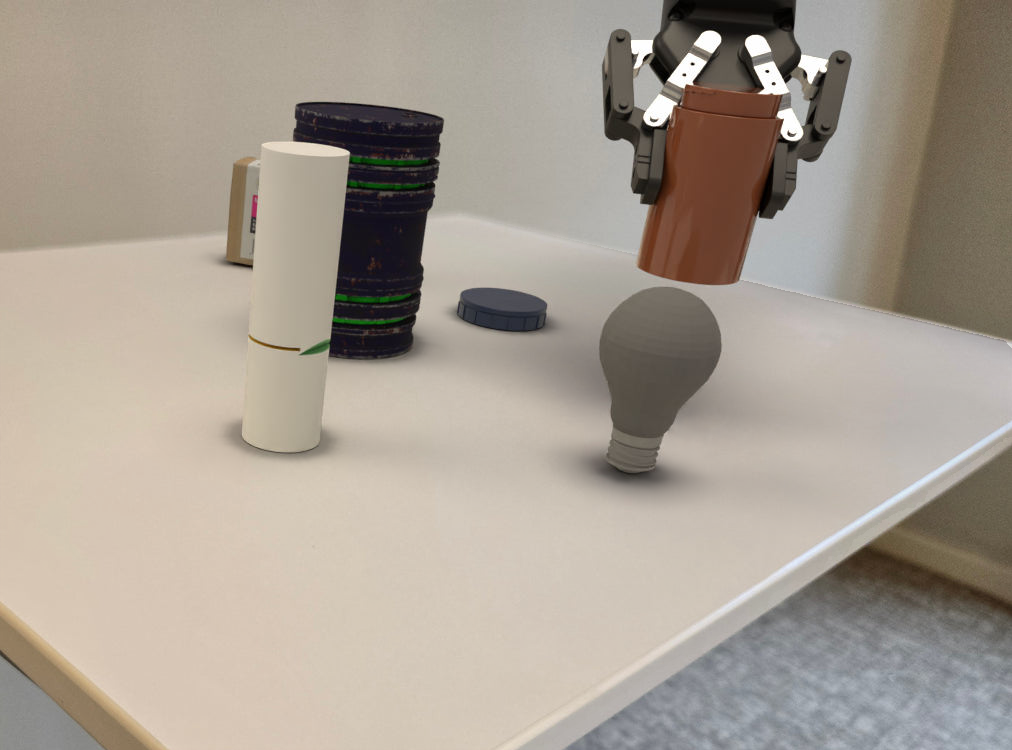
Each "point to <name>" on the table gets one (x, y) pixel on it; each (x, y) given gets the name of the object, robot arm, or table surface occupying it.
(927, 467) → the table surface
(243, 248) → the ink box
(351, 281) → the storage jar
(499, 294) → the jar lid
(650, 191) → the robot arm
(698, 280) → the jar
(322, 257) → the tube
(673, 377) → the light bulb
